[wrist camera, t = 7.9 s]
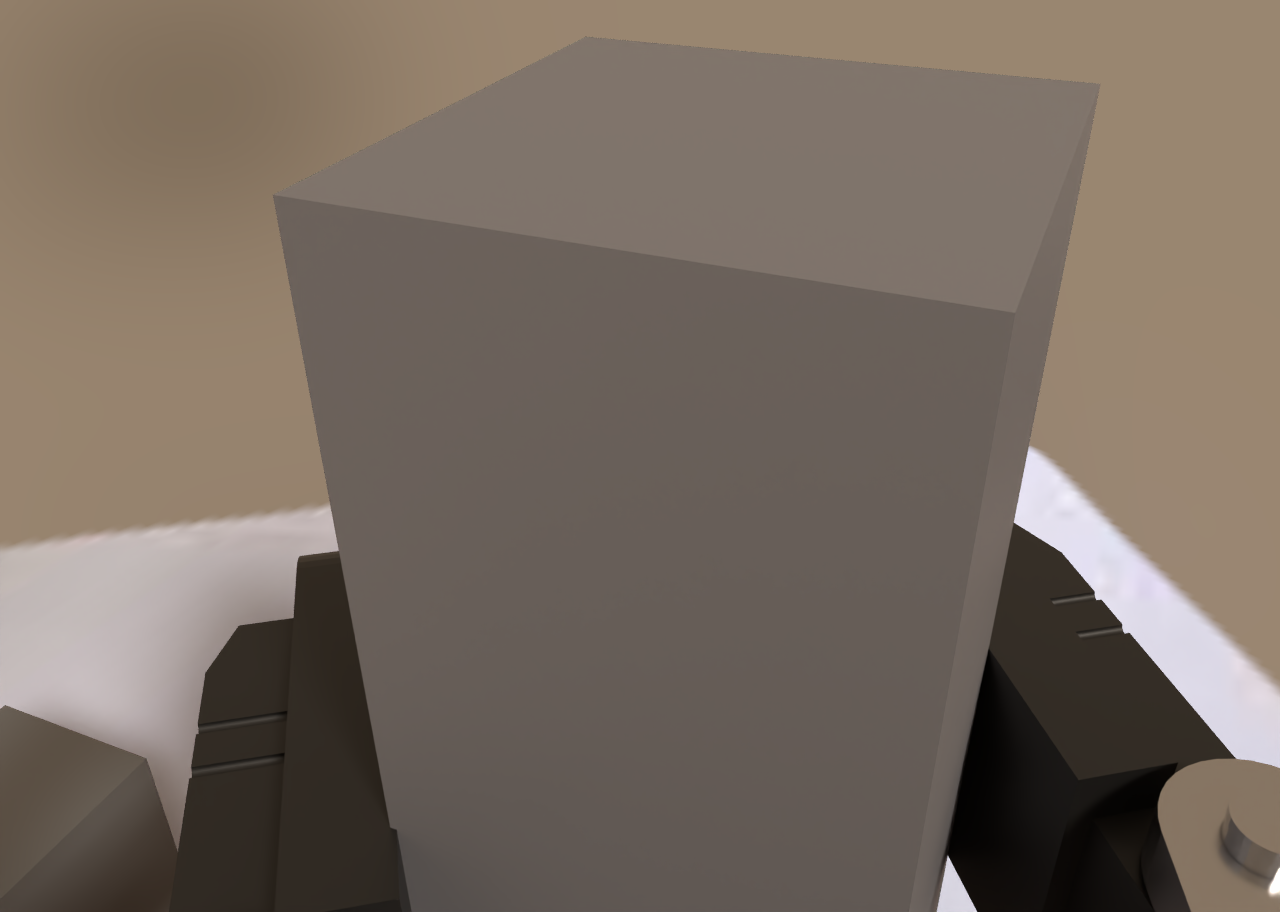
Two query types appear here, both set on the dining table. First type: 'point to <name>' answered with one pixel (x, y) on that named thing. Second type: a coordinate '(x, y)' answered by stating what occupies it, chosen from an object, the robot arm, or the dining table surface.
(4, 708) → the rail
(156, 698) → the dining table surface
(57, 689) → the dining table surface
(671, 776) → the carriage
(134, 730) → the dining table surface
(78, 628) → the dining table surface
